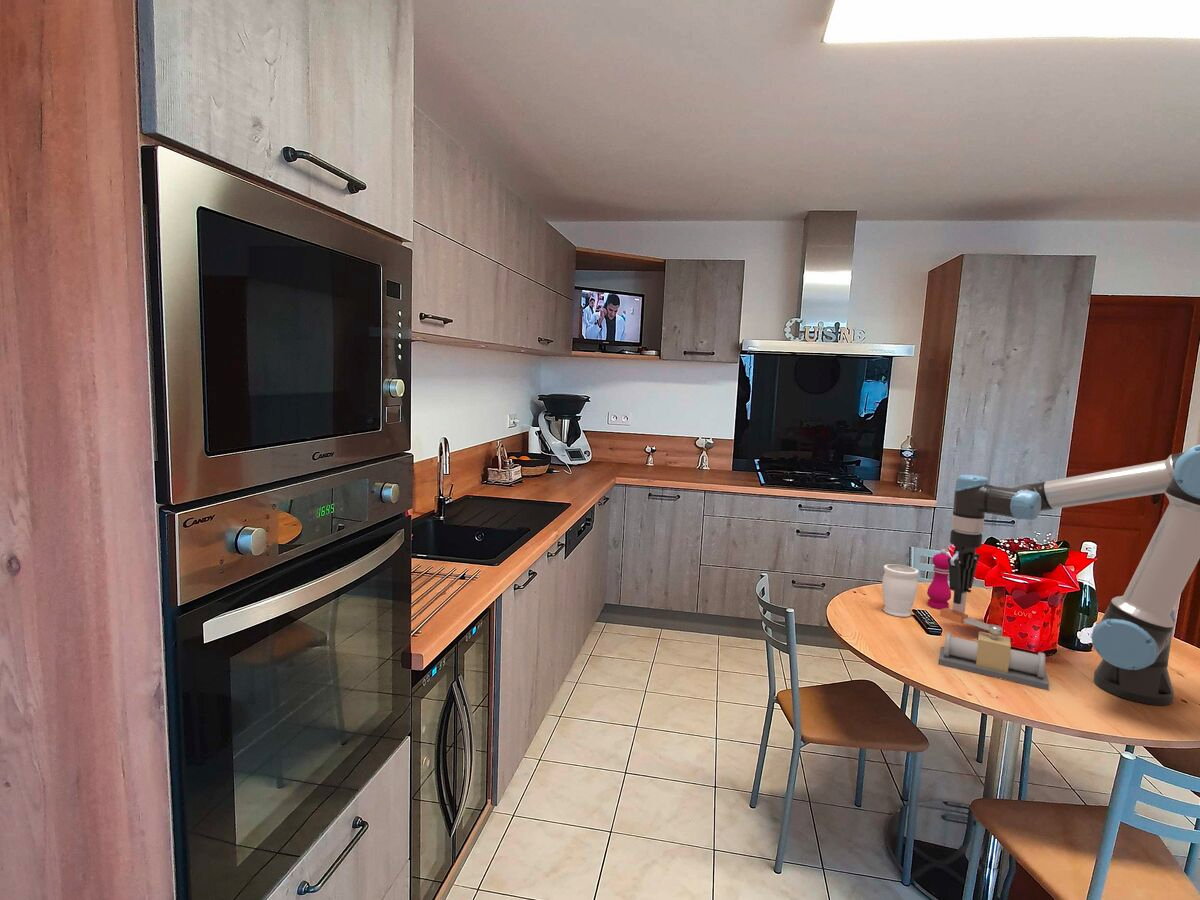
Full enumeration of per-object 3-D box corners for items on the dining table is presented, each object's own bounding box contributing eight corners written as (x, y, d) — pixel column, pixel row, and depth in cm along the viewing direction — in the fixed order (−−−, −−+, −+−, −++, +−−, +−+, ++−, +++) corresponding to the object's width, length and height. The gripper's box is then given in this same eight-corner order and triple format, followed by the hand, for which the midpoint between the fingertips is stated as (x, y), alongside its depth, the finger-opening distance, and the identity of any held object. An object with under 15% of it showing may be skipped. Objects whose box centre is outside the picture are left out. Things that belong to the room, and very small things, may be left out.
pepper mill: (954, 610, 209) (960, 552, 207) (932, 609, 210) (938, 551, 208) (942, 603, 217) (948, 546, 215) (921, 602, 217) (927, 546, 215)
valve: (1044, 675, 163) (1049, 638, 162) (1048, 690, 154) (1052, 652, 153) (940, 651, 175) (943, 617, 174) (938, 664, 166) (941, 628, 166)
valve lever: (1004, 634, 163) (1004, 627, 163) (997, 636, 162) (998, 629, 161) (946, 614, 176) (946, 607, 176) (939, 616, 175) (940, 609, 175)
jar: (915, 621, 198) (919, 575, 197) (879, 614, 203) (883, 569, 201) (913, 610, 208) (918, 566, 206) (879, 605, 212) (883, 561, 211)
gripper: (964, 526, 178) (956, 605, 181) (940, 530, 171) (932, 613, 174) (992, 531, 172) (983, 614, 175) (968, 536, 165) (959, 622, 167)
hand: (958, 614), depth 174 cm, fingers closed
